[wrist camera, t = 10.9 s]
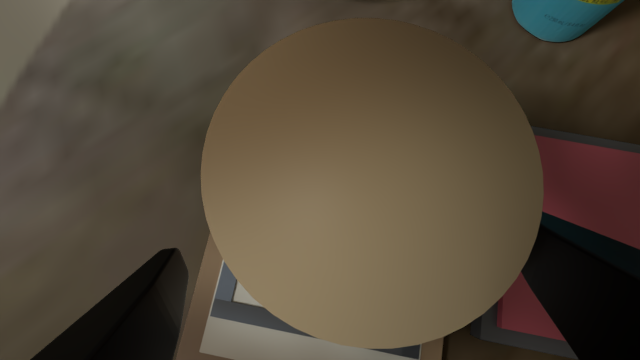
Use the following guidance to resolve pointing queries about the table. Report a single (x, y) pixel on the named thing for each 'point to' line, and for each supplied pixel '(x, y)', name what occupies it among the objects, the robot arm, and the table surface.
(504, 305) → the ink pad
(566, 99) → the table surface
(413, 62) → the stamp
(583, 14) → the tube
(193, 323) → the wooden picture frame
